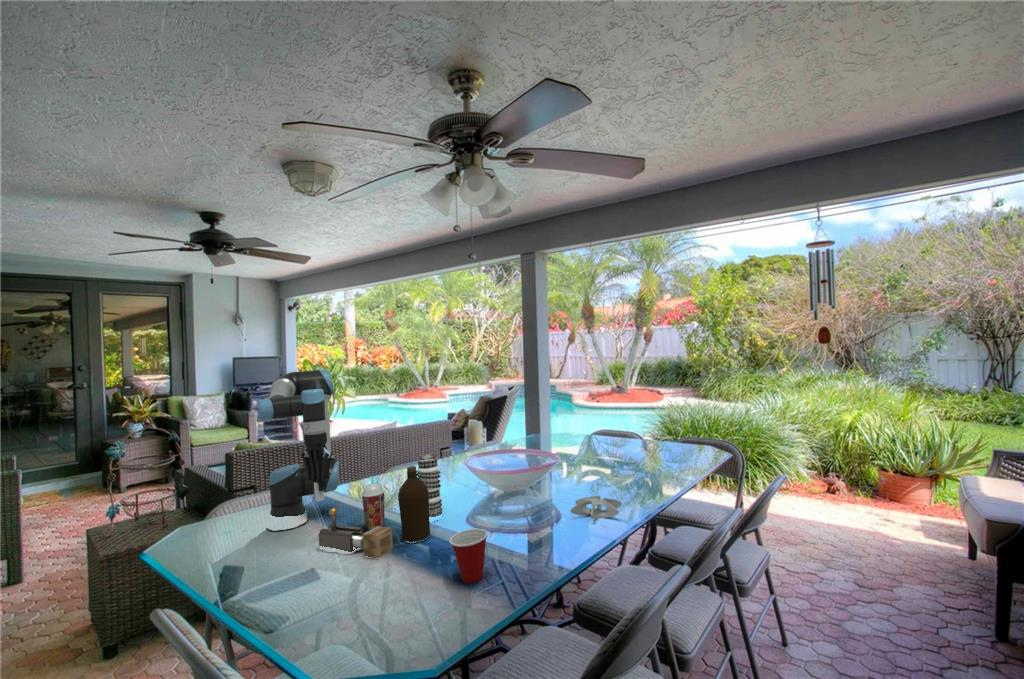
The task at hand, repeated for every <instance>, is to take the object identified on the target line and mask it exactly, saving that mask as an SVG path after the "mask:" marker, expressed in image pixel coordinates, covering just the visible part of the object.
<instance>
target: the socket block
mask: <svg viewBox="0 0 1024 679" xmlns="http://www.w3.org/2000/svg"><path fill="white" fill-rule="evenodd" d="M392 529H393V528H392V527H389V526H383V527H381V526H377V527H375V528H373V529H371V530H369V531H368V530H367V531H366V532H363V533H364V534H363V546H364V548H363V555H364V556H368V557H372V558H380V557H382V556H383V555H385V554H386V553H388V552H389V551H391V550H392V549H393V550H394V544H393V542H394V541H393V531H392ZM391 552H392V551H391ZM388 554H389V553H388ZM386 555H387V554H386ZM386 555H385V556H386ZM364 556H363V557H364ZM383 557H384V556H383ZM383 557H382V558H383ZM372 558H371V559H372ZM380 559H381V558H380Z"/></svg>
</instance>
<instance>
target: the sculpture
mask: <svg viewBox="0 0 1024 679" xmlns="http://www.w3.org/2000/svg"><path fill="white" fill-rule="evenodd" d="M574 503H575V505H574V506H573V507H572V508H570V510H569V511H570V513H571V514H573V515H576V516H582V517H591V519H592V520H598V519H605V518H612V517H615V516H618V515H619V514H620V511H619V508H620V507H621V506H622V504H623V503H622V502H621V501H620V500H618V499H614V498H606V497H603V498H601V497H600V496H599V495H592V496H587V497H582V498H579V499H577V500H575V502H574ZM587 505H591V508H589V507H587ZM601 506H604V507H605V508H606V509H603V510H602V509H601Z"/></svg>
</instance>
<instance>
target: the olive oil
mask: <svg viewBox="0 0 1024 679" xmlns="http://www.w3.org/2000/svg"><path fill="white" fill-rule="evenodd" d="M406 470H407V471H406V475H407V476H406V478H407V479H406V480H404V482H403V484H402V485H401V486H400V488H399V489H398V495H397V500H398V506H399V507H398V508H399V516H400V524H401V535H402V541H403V540H405V541H409V542H413V541H414V542H415V541H419V540H423V539H425V538H427V537H428V536H429V535H430V536H431V527H430V526H431V525H430V524H431V523H430V521H429V491H428V488H427V486H426V485H425V484H424V483H423V482H422V481H421V480H420V479H419V478H418V476H417V471H418V470H417V466H416V465H410V466H407V467H406Z"/></svg>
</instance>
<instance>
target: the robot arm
mask: <svg viewBox="0 0 1024 679" xmlns="http://www.w3.org/2000/svg"><path fill="white" fill-rule="evenodd" d="M269 391H270V394H269V397H266V398H262V399H259V400H258V405H257V408H258V409H257V410H258V417H259V419H260V420H261V421H263V420H264V421H265V420H266V421H267V420H270V421H271V420H275V419H284V418H290V417H293V418H294V417H301V416H302V424H303V426H302V428H303V434H304V435H303V443H304V446H305V447H306V448H305V451H304V452H302V453H301V454H300V457H301V458H302V460H303V465H304V466H303V467H302V465H301V464H299V463H295V464H290V465H286V466H283V467H280V468H277V469H274V470H273V471H272V472H271V473H270V474H269V483H268V485H269V493H270V494H269V495H270V496H269V497H270V512H269V515H270V514H271V515H272V516H275V517H284V516H298V515H302V514H304V513H305V510H306V507H305V505H304V501H303V497H307V496H312V495H314V502H318V503H319V502H321V501H324V500H325V493H329V492H334V491H336V490H337V489H338V487H339V473H340V462H339V461H337V460H336V457H335V456H334V455H333V452H332V445H331V444H332V443H331V442H332V441H331V427H330V426H331V425H330V416H329V415H330V414H329V413H330V412H329V402H330V400H331V399H332V396H333V395H334V394H335V389H334V382H333V377H332V375H331V371H330V370H328V369H316V370H315V369H314V370H313V369H312V370H304V371H303V370H301V371H293V372H292V371H291V372H287V373H285V374H283V375H280V376H279V377H278V378H276V379H275V380H274V381H273V382H272V384H271V386H270V390H269ZM306 511H307V510H306Z"/></svg>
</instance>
